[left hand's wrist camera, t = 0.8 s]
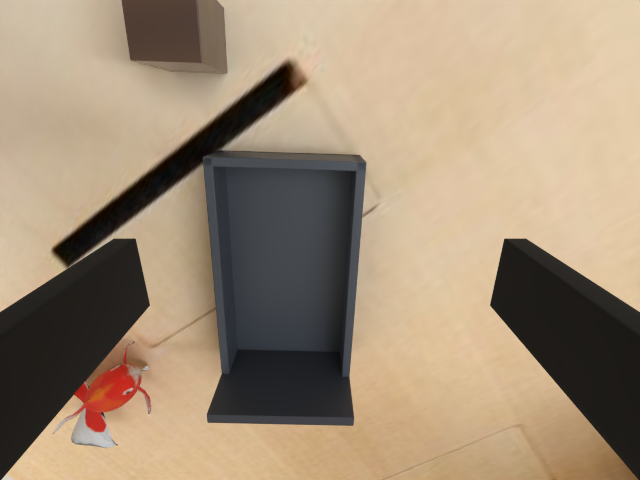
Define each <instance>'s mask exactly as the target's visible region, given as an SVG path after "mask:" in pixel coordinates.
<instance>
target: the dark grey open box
mask: <svg viewBox="0 0 640 480" xmlns="http://www.w3.org/2000/svg"><path fill="white" fill-rule="evenodd" d="M203 165H204V176H205V188H206V199H207V210H208V222H209V233H210V244H211V256H212V267H213V278H214V290H215V301H216V312H217V324H218V335H219V346H220V358H221V369H222V375H221V378H220V380H219V383H218V386H217V388H216V391H215V394H214V397H213V399H212V402H211V405H210V407H209V410H208V413H207V421H208V423H251V424H298V425H345V426H353V424H354V413H353V405H352V396H351V387H350V379H349V374H350V362H351V349H352V336H353V324H354V311H355V299H356V286H357V274H358V261H359V248H360V236H361V223H362V211H363V198H364V185H365V173H366V161H365V160H364V159H363V158H362V157H361V156H360V155H340V154H309V153H279V152H248V151H216V152H214V153H212V154H209V155H207V156H204V157H203Z"/></svg>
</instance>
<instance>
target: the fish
mask: <svg viewBox="0 0 640 480" xmlns="http://www.w3.org/2000/svg"><path fill="white" fill-rule="evenodd" d="M133 343H134V342H133V341H130V342H129V344H128V345H127V346H129V345H130V344H133ZM127 346H126V348H125V350H124V352H123V364H122V365H119V366H115V367H113V368H112V369H110V370H108V371H106V372H104V373H103V374H101V375H100V376H98V377H97V378H96V380H95V381H94V382H93V383H92V384H91V385H90V387H89V386H88V385H87V384H86V382H84V383H83V384H82V386H81V387H80V388H79V389H78V390H77V391H76V393H75V394H74V395H75V396H77V397H78V398H79V399H80V400H81V401H82V402H83V403H84V404H83V405H82V406H81V407H80V408H79V409H78V410H77V411H76V412H75V413H73V414H72V415H70V416H68V417H66V418H64V419H63V420H62V421H61V422H60V424H59V425H58V426H57V428H56V429H55V431H54V433H55V432H56V431H57V430H58V429H59V428H60V427H61V426H62V425H63V424H64V423H65V422H66V421H68V420H70V419H72V418H74V417H76V416H77V415H78V414H79V413H80V412H81V411H82V410H83V411H82V413H81V415H80V417H79V419H78V421H77V423H76V425H75V428H74V430H73V433H72V437H71V440H72V442H73V443H75V444H79V445H90V446H98V447H103V448H108V447H112V446H115V445H118V444H116V443H115V442H114V441H113V440H112V437H111V435H110V432H109V429H108V426H107V423H106V420H105V417H104V414H103V412H108V411H112V410H114V409H116V408H119V407H121V406H122V405H124V404H125V403H126V402H128V401H129V400H130V399H131V398H132V397H133V395H134V394H135V393H136V392H137V390H139V391H140V392H142V393H143V394H144V396H145V399H146V403H147V406H148V414H149V413H150V411H151V405H150V397H149V396H148V394H147V393H146V391H145V390H143V389H142V388H141V387H140V386H139V385H140V383H141V377H142V376H141V371H143V370H148V369H149V367H148V366H145V367H144V368H142V369H140V370H139V369H138V368H137V367H136V366H133V365H131V364H127V362H126V350H127ZM54 433H53V434H54Z"/></svg>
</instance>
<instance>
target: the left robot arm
mask: <svg viewBox="0 0 640 480" xmlns="http://www.w3.org/2000/svg"><path fill="white" fill-rule="evenodd" d="M149 306H150V304H149V299H148V294H147V290H146V285H145V280H144V276H143V271H142V266H141V262H140V257H139V252H138V248H137V243H136V239H113V240H111V241H110V242H108V243H107V244H105V245H104V246H102V247H101V248H99V249H97V250H96V251H94V252H93V253H91V254H90V255H88V256H87V257H85V258H83V259H82V260H80V261H79V262H77V263H76V264H74V265H73V266H71V267H70V268H68V269H66V270H65V271H63V272H62V273H60V274H59V275H57V276H56V277H54V278H53V279H51V280H49V281H48V282H46V283H45V284H43V285H42V286H40V287H39V288H37V289H35V290H34V291H32V292H31V293H29V294H28V295H26V296H25V297H23V298H22V299H20V300H18V301H17V302H15V303H14V304H12V305H11V306H9V307H8V308H6V309H5V310H3V311H1V312H0V480H1V479H2V478H3V477H4V476H5V475H6V473H7V472H8V471H9V470H10V469H11V468H12V466H13V465H14V464H15V463H16V462H17V461H18V459H19V458H20V457H21V456H22V455H23V454H24V452H25V451H26V450H27V449H28V448H29V447H30V445H31V444H32V443H33V442H34V441H35V439H36V438H37V437H38V436H39V435H40V434H41V432H42V431H43V430H44V429H45V428H46V427H47V425H48V424H49V423H50V422H51V421H52V420H53V418H54V417H55V416H56V415H57V414H58V412H59V411H60V410H61V409H62V408H63V407H64V405H65V404H66V403H67V402H68V401H69V400H70V398H71V397H72V396H73V395H74V394H75V393H76V391H77V390H78V389H79V388H80V387H81V386H82V384H83V383H84V382H85V381H86V380H87V378H88V377H89V376H90V375H91V374H92V373H93V371H94V370H95V369H96V368H97V367H98V366H99V364H100V363H101V362H102V361H103V360H104V359H105V357H106V356H107V355H108V354H109V353H110V351H111V350H112V349H113V348H114V347H115V346H116V344H117V343H118V342H119V341H120V340H121V339H122V337H123V336H124V335H125V334H126V333H127V332H128V330H129V329H130V328H131V327H132V326H133V325H134V323H135V322H136V321H137V320H138V319H139V317H140V316H141V315H142V314H143V313H144V312H145V310H146V309H147V308H148V307H149ZM490 306H491V307H492V308H493V309H494V310H495V312H496V313H497V314H498V315H499V316H500V317H501V319H502V320H503V321H504V322H505V323H506V325H507V326H508V327H509V328H510V329H511V330H512V332H513V333H514V334H515V335H516V336H517V337H518V339H519V340H520V341H521V342H522V343H523V344H524V346H525V347H526V348H527V349H528V350H529V351H530V353H531V354H532V355H533V356H534V357H535V359H536V360H537V361H538V362H539V363H540V364H541V366H542V367H543V368H544V369H545V370H546V371H547V373H548V374H549V375H550V376H551V377H552V378H553V380H554V381H555V382H556V383H557V384H558V386H559V387H560V388H561V389H562V390H563V391H564V393H565V394H566V395H567V396H568V397H569V398H570V400H571V401H572V402H573V403H574V404H575V405H576V407H577V408H578V409H579V410H580V411H581V413H582V414H583V415H584V416H585V417H586V418H587V420H588V421H589V422H590V423H591V424H592V425H593V427H594V428H595V429H596V430H597V431H598V432H599V434H600V435H601V436H602V437H603V438H604V439H605V441H606V442H607V443H608V444H609V445H610V447H611V448H612V449H613V450H614V451H615V452H616V454H617V455H618V456H619V457H620V458H621V459H622V461H623V462H624V463H625V464H626V465H627V466H628V468H629V469H630V470H631V471H632V472H633V474H634V475H635V476H636V477H637V478H638V479H639V480H640V312H639V311H637V310H635V309H634V308H632V307H631V306H629V305H628V304H626V303H625V302H623V301H622V300H620V299H618V298H617V297H615V296H614V295H612V294H611V293H609V292H608V291H606V290H605V289H603V288H601V287H600V286H598V285H597V284H595V283H594V282H592V281H591V280H589V279H587V278H586V277H584V276H583V275H581V274H580V273H578V272H577V271H575V270H574V269H572V268H570V267H569V266H567V265H566V264H564V263H563V262H561V261H560V260H558V259H557V258H555V257H553V256H552V255H550V254H549V253H547V252H546V251H544V250H543V249H541V248H539V247H538V246H536V245H535V244H533V243H532V242H530V241H529V240H527V239H504V243H503V248H502V252H501V257H500V262H499V266H498V271H497V276H496V280H495V285H494V290H493V294H492V299H491V304H490Z"/></svg>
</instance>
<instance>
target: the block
mask: <svg viewBox="0 0 640 480" xmlns="http://www.w3.org/2000/svg"><path fill="white" fill-rule="evenodd" d="M122 6H123V12H124V19H125V26H126V33H127V40H128V46H129V53H130V59H131V61H135V62H139V63H142V64H146V65H150V66H153V67H157V68H161V69H164V70H168V71H173V72H201V73H227V58H226V41H225V23H224V8H223V7H222V5H221V4H220V3H219V2H218V1H217V0H122Z"/></svg>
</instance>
